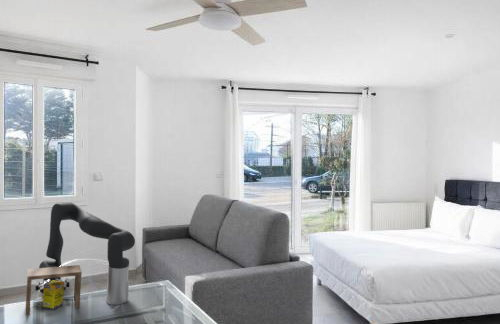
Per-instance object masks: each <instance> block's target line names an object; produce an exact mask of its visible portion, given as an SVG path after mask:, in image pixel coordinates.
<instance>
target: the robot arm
mask: <svg viewBox="0 0 500 324" xmlns="http://www.w3.org/2000/svg"><path fill="white" fill-rule="evenodd" d="M69 220H70V221H74V222H76V223H78V226H79V230H81V231H82V232H83V233H85V234H86V235H88V236H91V237H92V238H98V239H104V240H107V261H108V271H107V282H106V283H107V286H106V300H105V302H106V303H107V304H108V305H112V306H113V305H114V306H117V305H122V304H125V303H128V302H129V300H128V299H129V286H130V281H129V269H130V260H129V258H127V257H124V253H123V252H126V251H129V250H131V249H133V247H134V246H135V243H136V239H135V237H134V235H133V233H131V232H130V231H128V230H125V229H122V228H119V227H117V226H115V225H113V224H111V223H109V222H107V221H105V220H103V219H101V218H99V217H97V216H95V215H93V214H91V213H89V212H87V211H85V210H84V209H82V208H81V207H79V206H78V205H76V203H73V202H69V201H67V202H66V201H65V202H57V203H55V204H53V206H52V208H51V210H50V225H49V239H48V245H47V249H46V252H45V253H46V255H45V256H46V257H47V258H49V259H51V260H42V261H41V262H40V263H39V267H38V268H49V267H59V266H60V265H61V266H62V258H61V257H62V251H63V247H64V238H63V235H62V233H61V226H60V225H61V223H62V221H69ZM53 280H56V281H62V282H64V291H65V290H67V288H70V286H71V284H70V283H71V282H70V278H68V277H66V278H65V279H62V277H57V278H46V279H42V282H40V281H39V280H36V282H35V287H34V288H35V290H34V291H39V292H40V293H41V294H43V293H44V284H46V283H48V282H51V281H53Z"/></svg>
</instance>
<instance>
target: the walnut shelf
mask: <svg viewBox="0 0 500 324" xmlns="http://www.w3.org/2000/svg"><path fill="white" fill-rule="evenodd" d="M57 277H61V278H64V277H66V278H68V277H74V289H73V302H74V307H75V309H79V308H80V304H81V289H82V287H81V286H82V269H81V266H80V264H77V265H63V266H62V265H61V267H49V268H39V267H37V268H28V269H27V279H26V280H27V281H26V294H25V295H26V296H25V297H26V298H25V316H29V315H31V314H30V312H31V311H30V310H31V298H32V297H31V295H32V281H33V280H34V281H35V280H43V279H46V278H57Z"/></svg>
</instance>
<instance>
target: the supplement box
mask: <svg viewBox="0 0 500 324" xmlns="http://www.w3.org/2000/svg"><path fill="white" fill-rule="evenodd" d="M64 292H65V290H64V282H62V281H56V280H53V281H51V282H48V283H46V284H44V292H43V293H42V309H45V310H50V311H55V310H56V309H58V308H60V307H62V306H63V303H64Z"/></svg>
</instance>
